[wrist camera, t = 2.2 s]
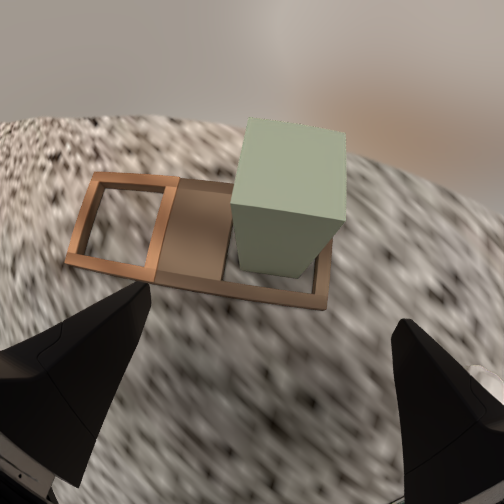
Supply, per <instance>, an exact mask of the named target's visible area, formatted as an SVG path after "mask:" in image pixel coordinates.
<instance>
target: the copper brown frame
mask: <svg viewBox="0 0 504 504" xmlns="http://www.w3.org/2000/svg"><path fill="white" fill-rule="evenodd" d="M233 187H234V184H231V183H223V182H214V181H205V180H195V179H185V178H180V177H175V176H163V175H150V174H134V173H115V172H94V174H93V176H92V179H91V181H90V184H89V187H88V189H87V192H86V195H85V197H84V200H83V203H82V206H81V209H80V212H79V215H78V218H77V221H76V224H75V227H74V230H73V234H72V237H71V241H70V244H69V248H68V251H67V255H66V259H65V263H66V264H68V265H70V266H72V267H76V268H81V269H85V270H89V271H94V272H98V273H103V274H107V275H112V276H116V277H121V278H126V279H131V280H135V281H142V282H147V283H150V284H155V285H161V286H166V287H171V288H176V289H182V290H187V291H193V292H199V293H204V294H210V295H216V296H222V297H228V298H235V299H241V300H247V301H254V302H261V303H268V304H275V305H282V306H289V307H297V308H305V309H313V310H321V311H323V310H326V309H327V300H328V290H329V280H330V268H331V256H332V242H333V237H332V239H331V240H330V241H329V242H328V243H327V245H326V246H325V247H324V248H323V249H322V251H321V252H320V253H319V254H318V255H317V257H316V260H315V270H314V280H313V289H312V294H308V293H300V292H293V291H286V290H279V289H272V288H265V287H258V286H251V285H245V284H238V283H232V282H226V281H223V275H224V269H225V264H226V258H227V253H228V247H229V242H230V236H231V231H232V226H233V218H232V211H231V205H230V202H231V197H232V192H233ZM105 188H111V189H124V190H136V191H147V192H158V193H164V194H163V198H162V201H161V205H160V208H159V212H158V215H157V219H156V223H155V226H154V230H153V234H152V238H151V242H150V246H149V250H148V254H147V258H146V263H145V267H141V266H135V265H130V264H125V263H120V262H114V261H109V260H104V259H99V258H94V257H89V256H84V253H85V250H86V246H87V242H88V239H89V235H90V232H91V229H92V225H93V222H94V219H95V216H96V213H97V210H98V207H99V204H100V201H101V198H102V195H103V192H104V189H105Z"/></svg>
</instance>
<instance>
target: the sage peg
mask: <svg viewBox="0 0 504 504" xmlns="http://www.w3.org/2000/svg"><path fill="white" fill-rule="evenodd" d="M230 205H231V211H232V218H233V225H234V231H235V238H236V244H237V250H238V257H239V263H240V270H242V271H248V272H255V273H262V274H269V275H275V276H282V277H289V278H296V279H298V278H299V277H300V276H301V274H302V273H303V272H304V271H305V270H306V269H307V267H308V266H309V265H310V264H311V263H312V261H313V260H314V259H315V258H316V257H317V255H318V254H319V253H320V252H321V251H322V249H323V248H324V247H325V246H326V245H327V243H328V242H329V241H330V240H331V239H332V237H333V236H334V235H335V234H336V232H337V231H338V230H339V229H340V227H341V226H342V225H343V224H344V222H345V221H346V136H345V133H343V132H338V131H333V130H328V129H323V128H318V127H313V126H307V125H301V124H295V123H289V122H281V121H274V120H268V119H258V118H250V117H249V118H248V123H247V127H246V132H245V136H244V141H243V145H242V150H241V154H240V159H239V164H238V168H237V173H236V178H235V183H234V187H233V192H232V197H231V202H230Z"/></svg>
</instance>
